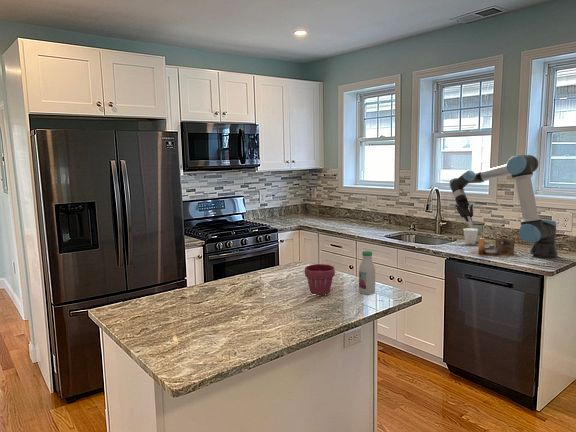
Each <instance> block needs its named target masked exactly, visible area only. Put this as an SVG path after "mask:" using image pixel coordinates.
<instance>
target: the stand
mask: <svg viewBox="0 0 576 432" xmlns="http://www.w3.org/2000/svg"><path fill="white" fill-rule="evenodd" d="M495 248H498V249H499V254H498V255H487V254H478V248H474V249H471V250H470V251H468V252H467V254H471V255H478V256H483V257H484V256H485V257H493V258H500V259H508V258H509V257H511V256H512V255H514V254H515V239H513V238H504V237H503V238H502V237H495Z"/></svg>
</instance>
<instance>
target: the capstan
mask: <svg viewBox="0 0 576 432" xmlns="http://www.w3.org/2000/svg"><path fill="white" fill-rule="evenodd" d="M477 246H478V247H477V249H478V254H487V255H498V254H499V249H498V248H495V245H494V244H489V246H486V238H485V237H484V238H479V243H478V245H477Z"/></svg>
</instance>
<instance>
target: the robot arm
mask: <svg viewBox="0 0 576 432" xmlns="http://www.w3.org/2000/svg"><path fill="white" fill-rule="evenodd" d="M538 168H539V160H538V158H536V156H534V155H531V154H525V155H523V154H518V155H513V156H511V157H509V159H508V160H507V162H506V164H503V165H500V166H496V167H492V168H489V169H484V170H483V169H482V170H480V171H476V172H475V171H474V170H472V169H467V170H465V171H464V172H462V174H461V175H460V176H459V177H453V178H451V179H450V180H449V187H450V189H451V192H452V195H453V197H454V200H455V203H456V204H454V206H453V208H454V209H456V211H457V213H458V214H459V216H460V217H461V218H463V219H464V220H465V222H466V223H467V225H468V228H470V227H471V226H472V225H473V223H472V222H473V216H474V208H473V207H474V204H472V203H471V204H470V202H469V201H468V200H469V199H468V198H467V195H466V192H465V190H464V189H465V187H466V186H467V185H469V184H477V183H479V184H480V183H484V182H486V181H487V182H488V181H490V180H494V179H499V178H504V177H509V176H511V179H512V180H513V181H515V186H516V190H517V196H518V197H517V198H518V201H519V206H520V211H521V217H522V219H521V220H520V228H519V229H518V235H519V237H520V239H521V240H522V241H524V242H526V243H532V246H531V249H530V252H529V253H530V254H531V255H532V256H533V257H535V258H542V259H555V258H558V250H557V248H556V247H557V246H556V238H557V237H556V236H557V235H556V234H557V228H558V227H557V221H555V220H552V219H551V220H550V219H542V218H541V217H540V216H539V214H538V208H537V204H536V198H535V191H534V187H533V182H532V178H533V176H534V172H535V171H536V170H537V169H538Z"/></svg>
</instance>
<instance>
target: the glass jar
mask: <svg viewBox="0 0 576 432" xmlns="http://www.w3.org/2000/svg"><path fill="white" fill-rule="evenodd" d="M472 223H473V225H472V226H471V227H469V228H473V229H478V232H477V236H476V241H475V244H477V243H478V244H479V238H485V226H486V225H485V224H486V223H485V222H484V221H472Z"/></svg>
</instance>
